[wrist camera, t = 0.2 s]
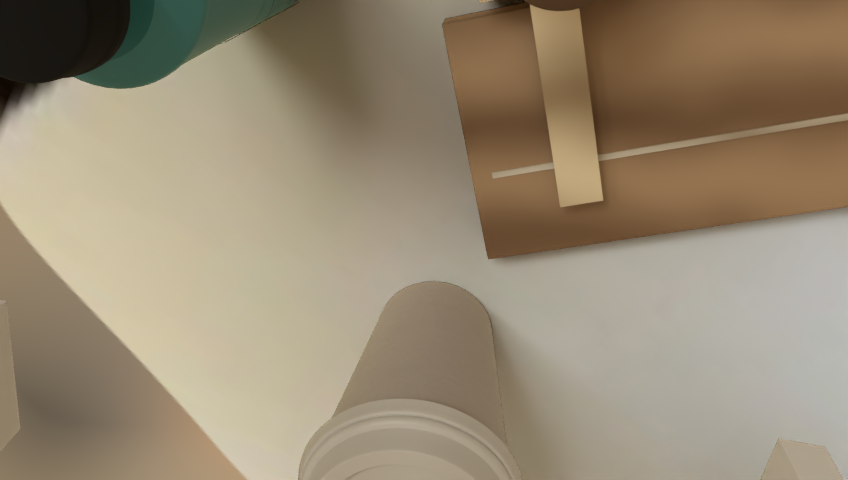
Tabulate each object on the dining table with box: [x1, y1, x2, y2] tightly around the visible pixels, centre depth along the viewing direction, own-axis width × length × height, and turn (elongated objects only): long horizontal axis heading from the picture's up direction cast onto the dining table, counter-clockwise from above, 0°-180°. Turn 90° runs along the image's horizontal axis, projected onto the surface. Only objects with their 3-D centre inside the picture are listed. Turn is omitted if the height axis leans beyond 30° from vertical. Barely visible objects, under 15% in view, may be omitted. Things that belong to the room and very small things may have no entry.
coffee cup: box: [298, 281, 522, 480], centre depth 37 cm, size 10×10×15 cm
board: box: [442, 0, 848, 259], centre depth 36 cm, size 12×26×2 cm, turn 102°
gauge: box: [479, 0, 603, 207], centre depth 29 cm, size 15×6×16 cm, turn 12°
